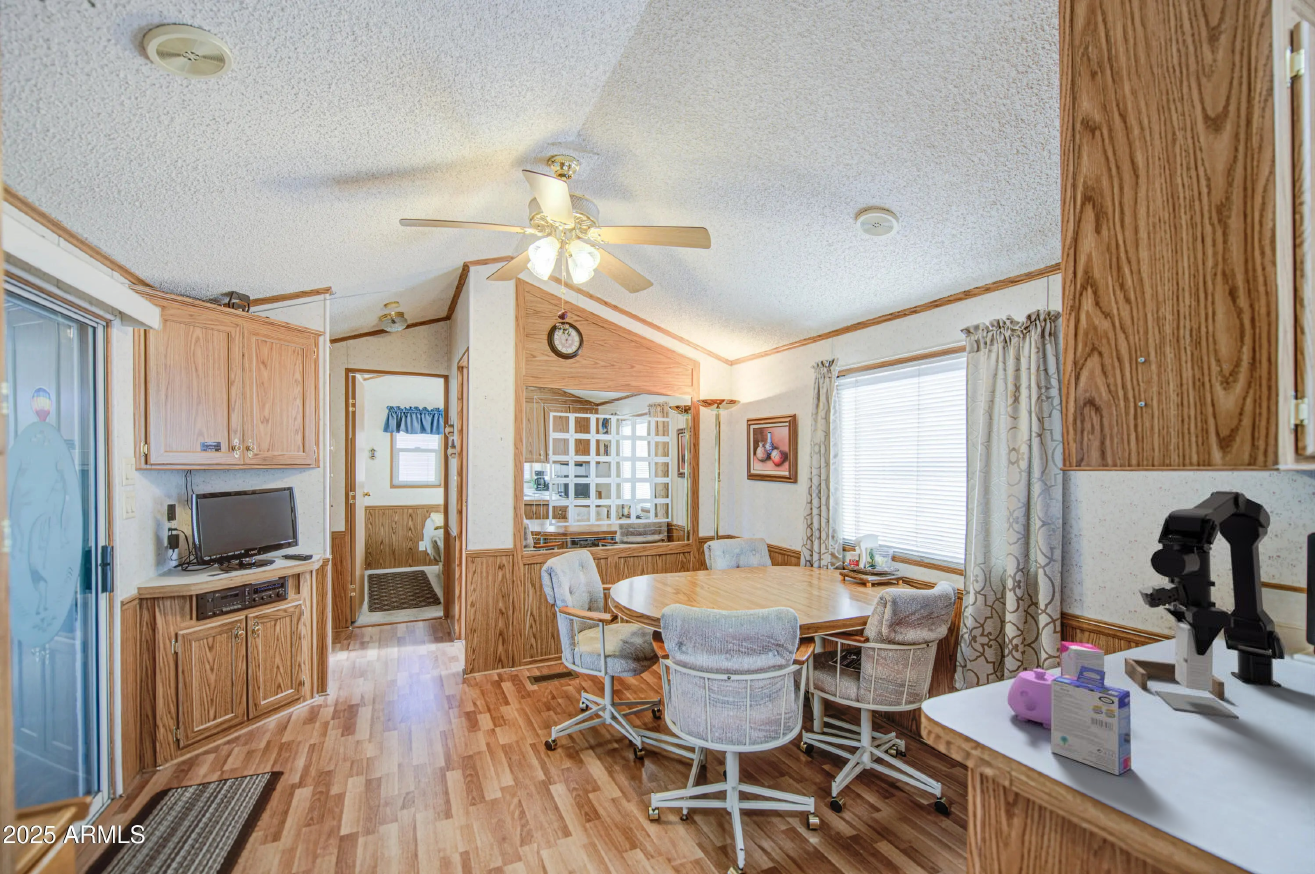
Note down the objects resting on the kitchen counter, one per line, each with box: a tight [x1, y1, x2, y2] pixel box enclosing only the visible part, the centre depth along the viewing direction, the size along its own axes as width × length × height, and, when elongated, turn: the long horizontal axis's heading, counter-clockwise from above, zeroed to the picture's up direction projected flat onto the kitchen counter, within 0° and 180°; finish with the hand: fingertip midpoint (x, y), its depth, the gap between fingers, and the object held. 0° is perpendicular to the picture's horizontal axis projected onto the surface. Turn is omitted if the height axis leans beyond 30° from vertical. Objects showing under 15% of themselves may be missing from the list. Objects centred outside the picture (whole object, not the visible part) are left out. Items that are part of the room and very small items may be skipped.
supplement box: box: [1060, 641, 1105, 679], centre depth 123 cm, size 6×6×12 cm
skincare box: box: [1174, 622, 1214, 692], centre depth 123 cm, size 6×4×12 cm
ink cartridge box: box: [1050, 666, 1132, 776], centre depth 99 cm, size 10×6×14 cm, turn 36°
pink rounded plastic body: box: [1007, 668, 1058, 730], centre depth 114 cm, size 10×15×9 cm
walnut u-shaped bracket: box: [1124, 657, 1226, 701], centre depth 133 cm, size 11×14×4 cm
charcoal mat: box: [1154, 690, 1240, 719], centre depth 123 cm, size 10×10×1 cm
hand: (1193, 650), depth 123 cm, fingers closed on skincare box, 6 cm apart
